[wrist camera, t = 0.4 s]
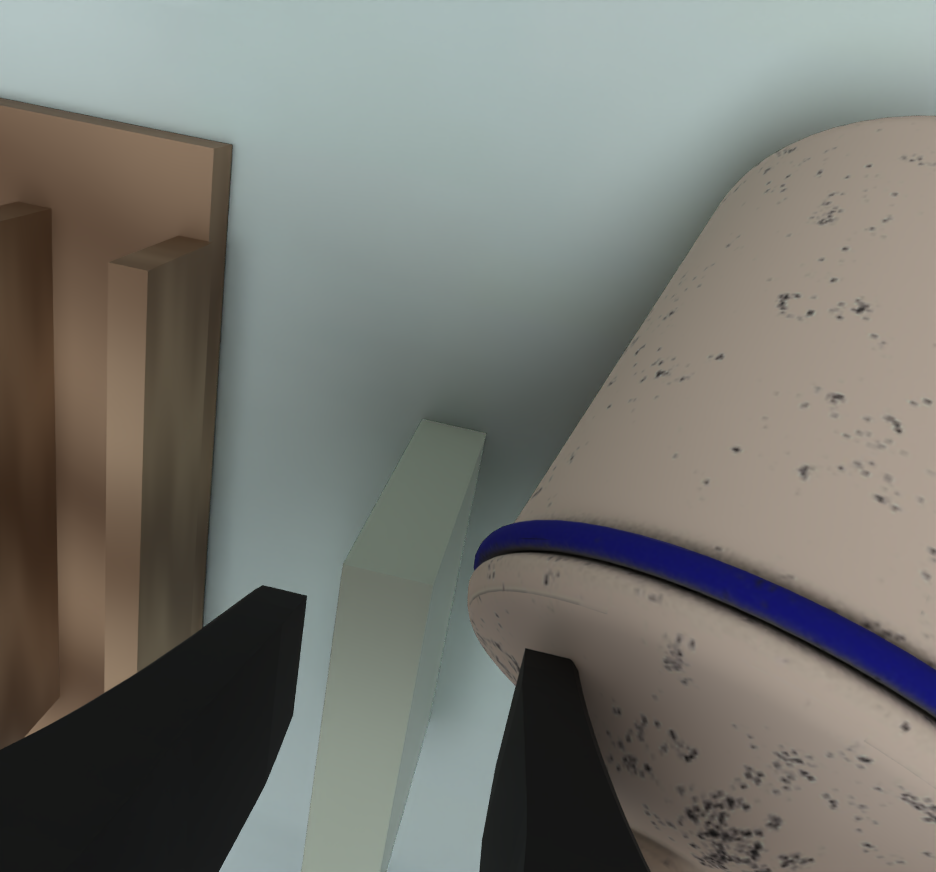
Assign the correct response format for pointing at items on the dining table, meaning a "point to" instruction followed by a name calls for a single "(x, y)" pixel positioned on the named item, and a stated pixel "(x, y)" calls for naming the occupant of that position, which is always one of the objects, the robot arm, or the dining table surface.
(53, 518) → the walnut rack
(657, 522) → the beige mug
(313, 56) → the dining table surface
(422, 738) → the upright gray panel
